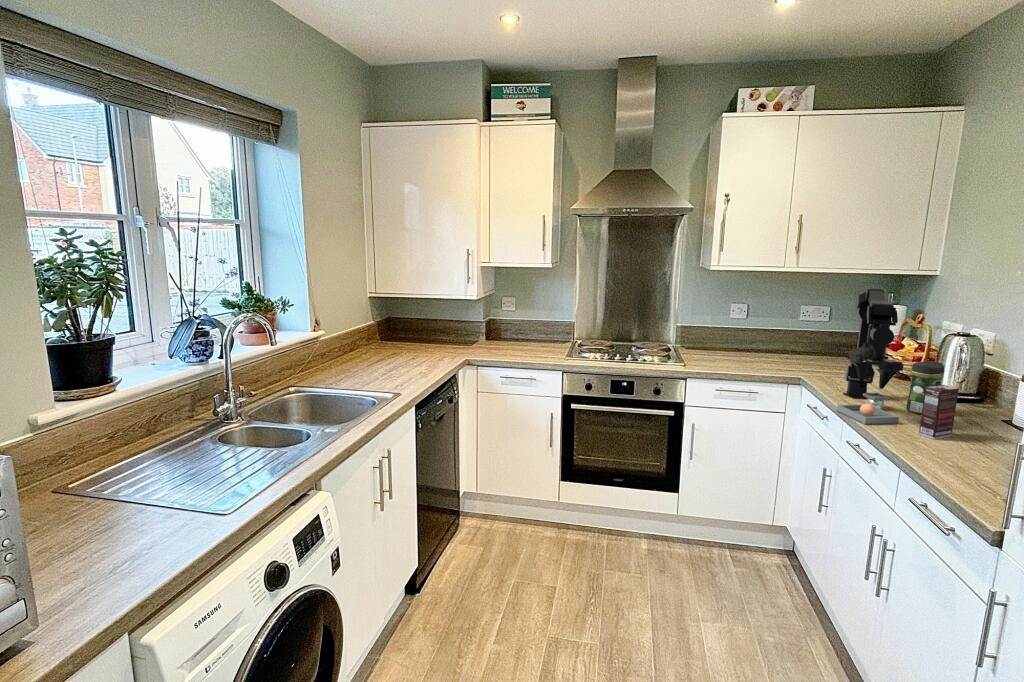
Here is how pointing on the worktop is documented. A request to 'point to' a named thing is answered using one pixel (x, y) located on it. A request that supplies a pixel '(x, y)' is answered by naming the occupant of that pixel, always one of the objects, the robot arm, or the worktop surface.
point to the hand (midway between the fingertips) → (871, 385)
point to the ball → (867, 409)
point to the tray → (876, 419)
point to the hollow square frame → (876, 399)
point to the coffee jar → (923, 383)
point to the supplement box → (938, 411)
